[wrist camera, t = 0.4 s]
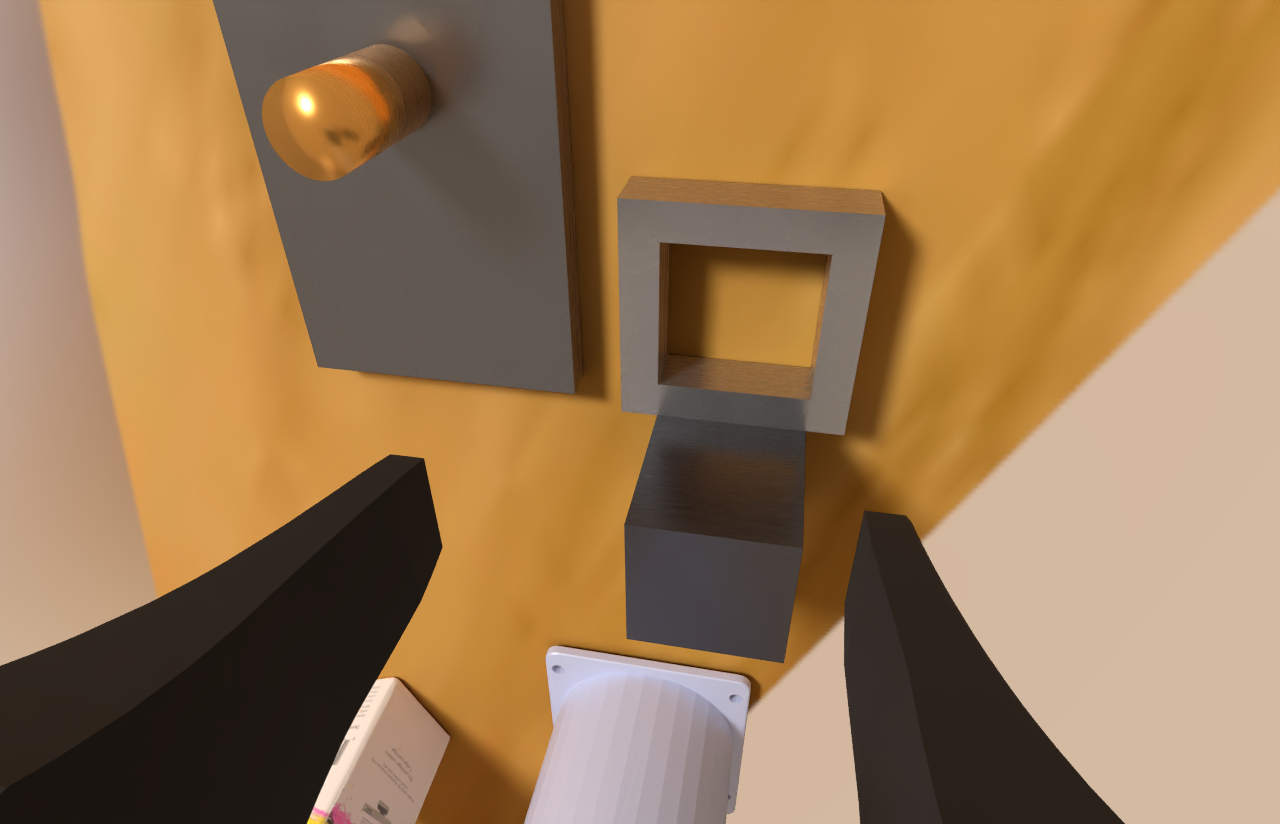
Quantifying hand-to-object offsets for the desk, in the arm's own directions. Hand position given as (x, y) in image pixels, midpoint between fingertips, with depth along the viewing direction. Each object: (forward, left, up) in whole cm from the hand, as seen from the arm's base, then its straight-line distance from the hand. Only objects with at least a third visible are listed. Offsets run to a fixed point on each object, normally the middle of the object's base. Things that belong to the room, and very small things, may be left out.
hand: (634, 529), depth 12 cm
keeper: (+2, +7, -10) cm, 12 cm away
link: (-2, -1, -10) cm, 10 cm away
